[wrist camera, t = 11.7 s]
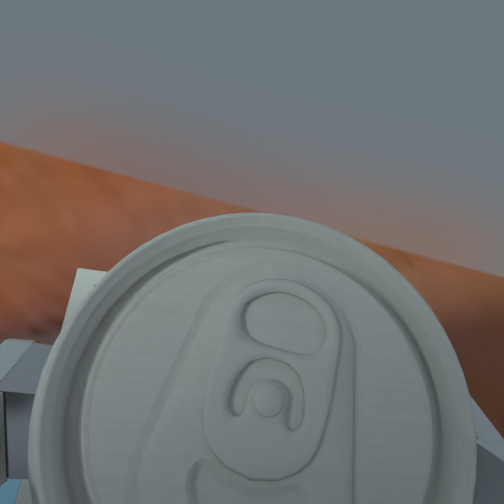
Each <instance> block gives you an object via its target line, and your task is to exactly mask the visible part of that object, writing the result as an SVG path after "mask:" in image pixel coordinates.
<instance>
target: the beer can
mask: <svg viewBox="0 0 504 504" xmlns="http://www.w3.org/2000/svg"><path fill="white" fill-rule="evenodd" d="M476 463H477V445H476V431H475V421H474V415H473V409H472V404H471V398H470V395H469V391H468V387H467V384H466V380H465V376H464V373H463V371H462V368H461V365H460V363H459V360H458V358H457V355H456V352H455V350H454V348H453V346H452V344H451V342H450V340H449V338H448V336H447V334H446V332H445V330H444V328H443V327H442V325H441V324H440V322H439V320H438V319H437V317H436V316H435V314H434V312H433V311H432V309H431V308H430V307H429V305H428V304H427V303H426V301H425V300H424V299H423V298H422V296H421V295H420V294H419V292H418V291H417V290H416V289H415V288H414V287H413V286H412V285H411V284H410V282H409V281H408V280H407V279H406V278H405V277H404V276H403V275H402V274H401V273H400V272H399V271H398V270H396V269H395V268H394V267H393V266H392V265H391V264H390V263H388V262H387V261H386V260H385V259H384V258H382V257H381V256H379V255H378V254H377V253H375V252H374V251H372V250H371V249H370V248H368V247H367V246H365V245H363V244H362V243H360V242H358V241H356V240H355V239H353V238H351V237H350V236H348V235H346V234H343V233H341V232H339V231H337V230H334V229H332V228H330V227H328V226H325V225H321V224H319V223H316V222H313V221H310V220H305V219H301V218H297V217H292V216H288V215H280V214H271V213H236V214H225V215H219V216H214V217H209V218H204V219H200V220H197V221H194V222H191V223H188V224H184V225H181V226H179V227H177V228H174V229H172V230H170V231H167V232H165V233H163V234H161V235H159V236H157V237H155V238H154V239H152V240H150V241H148V242H147V243H145V244H143V245H141V246H140V247H138V248H137V249H136V250H134V251H133V252H132V253H130V254H129V255H127V256H126V257H125V258H123V259H122V260H121V261H120V262H119V263H117V264H116V265H115V266H114V267H113V268H112V269H111V270H110V271H109V272H107V273H106V274H105V275H104V276H103V277H102V278H101V280H100V281H99V282H98V283H97V284H96V285H95V286H94V287H93V289H92V290H91V291H90V292H89V293H88V294H87V295H86V297H85V298H84V299H83V300H82V301H81V302H80V304H79V305H78V306H77V308H76V309H75V311H74V312H73V314H72V315H71V316H70V318H69V319H68V321H67V322H66V323H65V325H64V327H63V329H62V331H61V332H60V334H59V336H58V338H57V339H56V341H55V343H54V345H53V347H52V349H51V352H50V354H49V356H48V359H47V361H46V363H45V366H44V368H43V370H42V374H41V377H40V380H39V384H38V387H37V390H36V394H35V397H34V403H33V408H32V414H31V419H30V425H29V439H28V473H29V486H30V492H31V498H32V504H472V503H473V496H474V489H475V482H476Z"/></svg>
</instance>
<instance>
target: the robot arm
mask: <svg viewBox="0 0 504 504" xmlns="http://www.w3.org/2000/svg"><path fill="white" fill-rule="evenodd" d="M53 345H54V343H49V342H41V341H37V342H36V341H34V340H25V339H15V338H10V339H6V340H5V341H4V342H3V343H2V344H1V345H0V486H1V485H2V484H4V483H5V482H6V481H7V479H6V478H10V479H28V480H29V473H28V439H29V425H30V419H31V414H32V408H33V403H34V397H35V394H36V390H37V387H38V384H39V380H40V377H41V374H42V370H43V368H44V366H45V363H46V361H47V359H48V356H49V354H50V352H51V349H52V347H53ZM470 398H471V404H472V409H473V415H474V421H475V431H476V445H477V463H476V482H475V489H474V496H473V503H472V504H504V439H503V438H502V436H501V435H500V434H499V432H498V431H497V430H496V429H495V427H494V426H493V425H492V423H491V422H490V421H489V419H488V418H487V417H486V415H485V414H484V413H483V412H482V410H481V409H480V408H479V406H478V405H477V404H476V402H475V401H474V400H473V398H472V397H471V396H470Z"/></svg>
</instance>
